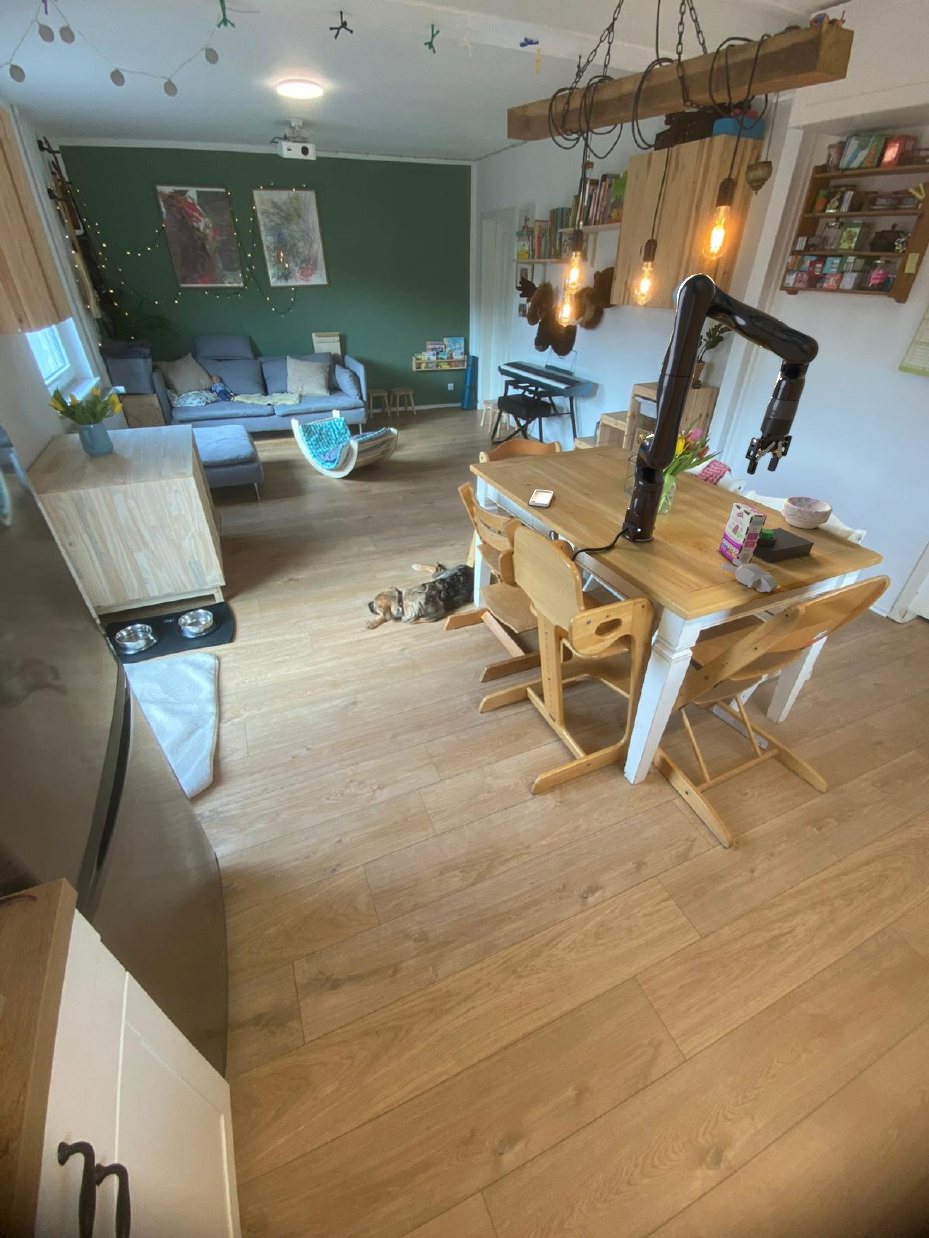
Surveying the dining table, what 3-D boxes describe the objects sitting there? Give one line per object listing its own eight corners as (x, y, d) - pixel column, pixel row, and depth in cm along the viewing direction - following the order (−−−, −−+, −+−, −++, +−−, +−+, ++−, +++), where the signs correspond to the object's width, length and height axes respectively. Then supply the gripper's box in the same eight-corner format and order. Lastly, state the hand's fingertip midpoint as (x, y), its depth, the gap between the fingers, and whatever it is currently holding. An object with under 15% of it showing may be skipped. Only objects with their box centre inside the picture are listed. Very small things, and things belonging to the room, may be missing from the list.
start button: (765, 540, 167) (767, 534, 166) (755, 535, 170) (757, 529, 169) (774, 538, 169) (776, 532, 167) (764, 533, 172) (766, 527, 171)
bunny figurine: (768, 585, 145) (721, 559, 155) (760, 600, 149) (715, 573, 158) (786, 577, 150) (740, 551, 159) (778, 591, 153) (733, 566, 162)
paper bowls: (795, 533, 187) (804, 512, 182) (769, 516, 199) (776, 496, 195) (834, 531, 189) (843, 510, 185) (805, 515, 202) (813, 495, 197)
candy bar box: (750, 565, 164) (768, 515, 155) (735, 566, 164) (752, 516, 155) (732, 550, 174) (748, 502, 165) (717, 550, 173) (732, 502, 164)
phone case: (547, 507, 202) (553, 494, 214) (548, 503, 201) (553, 491, 214) (528, 504, 204) (535, 492, 216) (529, 501, 203) (535, 489, 215)
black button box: (767, 562, 166) (774, 545, 163) (735, 546, 176) (741, 529, 173) (809, 554, 173) (816, 537, 169) (775, 538, 183) (782, 522, 179)
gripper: (785, 411, 154) (767, 466, 163) (750, 414, 149) (733, 471, 158) (809, 416, 149) (788, 473, 158) (773, 420, 144) (753, 478, 153)
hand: (760, 472), depth 158 cm, fingers open, 8 cm apart
